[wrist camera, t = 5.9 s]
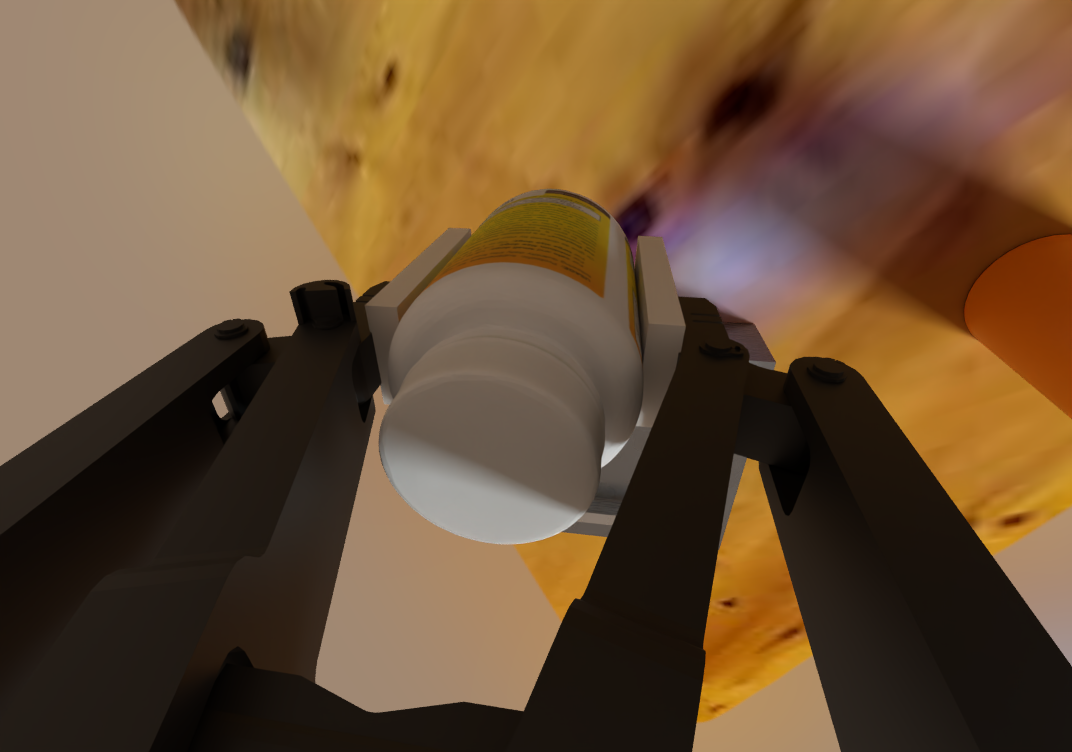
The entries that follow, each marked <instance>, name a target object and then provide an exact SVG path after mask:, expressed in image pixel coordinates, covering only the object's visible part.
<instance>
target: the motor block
mask: <svg viewBox="0 0 1072 752" xmlns="http://www.w3.org/2000/svg"><path fill="white" fill-rule="evenodd" d="M722 324H724V327H725V329H726V332H727V334H728V336H729V339H731V340H734V341H736V342H738V343H740V344H742V345H743V346H744V347H745V348H746V349H748V351H749V355H750V358H749V363H752V364H754V365H757V366H759V367H763V368H766V369H770V370H774V367H775V364H776V362H775V360H774V358H773V356H772V355H771V353H770V351H769V349H768V347H767V346H766V344H765V342H764V340H763V339H762V337H761V335H760V333H759V331H758V330H757V328H756V326H755V324H741V323H724V322H722ZM651 428H652V427H641V426H635V428H634V431H633V432H632V434H631V436H630V438H629V439H628V441H627V442H626V444H625V445H624V447H623V448H622V449H621V450H620V451H619V453H618V454H617V455H616V456H615V457H614V458H613V459H612V460H611V461H610V462H609V463H607V464H606V465H605V466H603V467H602V468H601V475H600V482H599V486H598V489H597V492H596V495H595V497H594V500H593V501H592V503H591V505H590V507H589V508H588V509H587V511H586V512H585V514H584V515H583V516H582V517H580V518H579V519H578V520H577V521H576V522H575V523H574V524H573V525H571V526H570V527H568V528H567V529H566V530H564V531H562V532H567V533H576V534H585V535H594V536H603V537H608V534H609V532H610V529H611V527H612V524H613V522H614V520H615V517H616V515H617V512H618V510H619V507H620V505H621V502H622V500H623V497H624V495H625V492H626V490H627V488H628V485H629V483H630V480H631V478H632V475H633V473H634V470H635V468H636V465H637V463H638V460H639V458H640V456H641V453H642V451H643V448H644V446H645V443H646V441H647V438H648V436H649V433H650V431H651ZM746 459H747V457H743V456H740V455H737V454H734V456H733V462H732V468H731V474H730V480H729V487H728V493H727V499H726V505H725V511H724V517H723V523H722V530H721V536H720V542H719V548H720V545H721V541H722V538H723V535H724V532H725V528H726V525H727V522H728V518H729V515H730V512H731V509H732V505H733V502H734V499H735V495H736V492H737V489H738V485H739V482H740V479H741V476H742V472H743V469H744V466H745V462H746ZM719 548H718V549H719Z"/></svg>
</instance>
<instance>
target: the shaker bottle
mask: <svg viewBox="0 0 1072 752" xmlns="http://www.w3.org/2000/svg"><path fill="white" fill-rule="evenodd" d="M964 317H965V323H966V325H967V327H968V329H969V331H970V333H971V334H972V335H973V336H974V337H975V338H976V339H977V340H978V341H980V342H981V343H982V344H983V345H984V346H986V347H987V348H988V349H989V350H990V351H992V352H993V353H994V354H995V355H996V356H997V357H999V358H1000V359H1001V360H1002V361H1003V362H1005V363H1006V364H1007V365H1008V366H1009V367H1011V368H1012V369H1013V370H1014V371H1015V372H1016V373H1018V374H1019V375H1020V376H1021V377H1022V378H1024V379H1025V380H1026V381H1027V382H1028V383H1030V384H1031V385H1032V386H1033V387H1034V388H1036V389H1037V390H1038V391H1039V392H1040V393H1041V394H1043V395H1044V396H1045V397H1046V398H1047V399H1049V400H1050V401H1051V402H1052V403H1053V404H1055V405H1056V406H1057V407H1058V408H1059V409H1060V410H1062V411H1063V412H1064V413H1065V414H1066V415H1068V416H1069V417H1070V418H1071V419H1072V235H1071V234H1066V235H1053V236H1048V237H1044V238H1040V239H1036V240H1033V241H1031V242H1028V243H1025V244H1023V245H1021V246H1019V247H1017V248H1015V249H1013V250H1011V251H1009V252H1007V253H1006V254H1005V255H1003V256H1002V257H1000V258H999V259H997V260H996V261H995V262H994V263H992V264H991V265H990V266H989V267H988V268H987V269H986V270H985V271H984V272H983V273H982V274H981V275H980V277H979V278H978V279H977V280H976V281H975V283H974V285H973V286H972V288H971V290H970V292H969V294H968V296H967V299H966V302H965V308H964Z"/></svg>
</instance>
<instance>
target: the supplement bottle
mask: <svg viewBox="0 0 1072 752" xmlns="http://www.w3.org/2000/svg"><path fill="white" fill-rule="evenodd" d="M388 382H389V387H390V392H391V395H392V398H393V401H392V402H391V404H390V405H389V407H388V409H387V411H386V413H385V415H384V418H383V420H382V424H381V427H380V433H379V452H380V457H381V462H382V465H383V468H384V470H385V472H386V475H387V476H388V478H389V480H390V482H391V484H392V486H393V487H394V488H395V490H396V491H397V492H398V494H399V495H400V496H401V497H402V498H403V499H404V500H405V502H406V503H407V504H409V506H410V507H412V508H413V509H414V510H415V511H416V512H418V513H419V514H420V515H422V516H423V517H424V518H425V519H427V520H429V521H430V522H432V523H433V524H435V525H436V526H439V527H441V528H443V529H445V530H447V531H449V532H451V533H453V534H456V535H459V536H462V537H465V538H469V539H472V540H477V541H481V542H486V543H494V544H522V543H528V542H534V541H538V540H542V539H545V538H548V537H551V536H554V535H556V534H558V533H560V532H562V531H564V530H566V529H567V528H568V527H570V526H571V525H573V524H574V523H575V522H576V521H577V520H578V519H579V518H580V517H582V516H583V515H584V514H585V512H586V511H587V509H588V508H589V507H590V505H591V503H592V501H593V500H594V497H595V495H596V492H597V489H598V486H599V482H600V475H601V468H602V467H603V466H605V465H606V464H607V463H609V462H610V461H611V460H612V459H613V458H614V457H615V456H616V455H617V454H618V453H619V451H620V450H621V449H622V448H623V447H624V445H625V444H626V442H627V441H628V439H629V438H630V436H631V434H632V432H633V431H634V428H635V426H636V424H637V421H638V418H639V415H640V411H641V407H642V400H643V383H644V380H643V364H642V350H641V339H640V326H639V313H638V301H637V288H636V279H635V269H634V262H633V256H632V252H631V248H630V245H629V243H628V240H627V238H626V236H625V234H624V232H623V230H622V229H621V227H620V225H619V224H618V223H617V221H616V220H615V219H614V218H613V217H612V216H611V215H610V214H609V213H608V212H607V211H606V210H605V209H604V208H602V207H601V206H600V205H599V204H597V203H595V202H594V201H592V200H591V199H589V198H587V197H585V196H582V195H580V194H577V193H573V192H570V191H566V190H560V189H541V190H535V191H530V192H526V193H523V194H521V195H518V196H516V197H514V198H512V199H510V200H508V201H507V202H505V203H503V204H502V205H501V206H500V207H498V208H497V209H496V210H495V211H494V212H492V213H491V214H490V215H489V217H488V218H487V219H486V220H485V221H484V222H483V223H482V224H481V225H480V227H479V228H478V229H477V230H476V231H475V232H474V233H473V234H472V236H471V237H470V238H469V239H468V240H467V241H466V242H465V244H464V245H463V246H462V247H461V248H460V249H459V250H458V251H457V253H456V254H455V255H454V256H453V257H452V258H451V260H450V261H449V262H448V263H447V264H446V265H445V266H444V268H443V269H442V270H441V271H440V272H439V273H438V274H437V276H436V277H435V278H434V279H433V280H432V281H431V282H430V283H429V285H428V286H427V287H426V288H425V289H424V290H423V291H422V293H421V294H420V295H419V296H418V297H417V298H416V299H415V300H414V302H413V303H412V304H411V306H410V307H409V308H408V310H407V311H406V313H405V314H404V316H403V317H402V319H401V320H400V322H399V324H398V327H397V329H396V331H395V333H394V336H393V339H392V342H391V346H390V351H389V358H388Z"/></svg>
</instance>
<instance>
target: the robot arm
mask: <svg viewBox="0 0 1072 752" xmlns="http://www.w3.org/2000/svg"><path fill="white" fill-rule="evenodd" d="M470 237H471V229H463V228H448V229H447V230H446V231H445V232H444V233H443V234H442V235H441V236H440V237H439V238H438V239H436V240H435V241H434V242H433V243H432V244H431V245H430V246H429V247H428V248H427V249H426V250H424V251H423V252H422V253H421V254H420V255H419V256H418V257H417V258H416V259H415V260H414V261H412V262H411V263H410V264H409V265H408V266H407V267H406V268H405V269H404V270H403V271H402V272H400V273H399V274H398V275H397V276H396V277H395V278H394V279H393V280H392V281H391V282H388V281H385V282H382V283H380V284H378V285H375V286H373V287H371V288H370V289H368V290H367V291H366V292H365V293H364V294H363V296H360V297H359V298H358V299H357V300H356V302H353V300H352V295H351V290H350V285H349V284H347V283H346V282H343V281H338V280H321V281H314V282H309V283H305V284H302V285H300V286H297V287H295V288H294V289H292V290H291V291H290V295H291V299H292V302H293V306H294V310H295V313H296V316H297V320H298V324H299V325H298V327H297V329H296V330H295V332H294V333H293V335H292V336H285V337H273V338H267V335H266V332H265V328H264V325H263V323H261V322H259V321H257V320H250V319H244V320H241V319H233V320H227V321H224V322H222V323H221V324H218V325H215V326H212V327H210V328H209V329H207V330H205V331H203V332H202V333H200V334H199V335H197V336H196V337H194V338H193V339H191V340H190V341H188V342H187V343H185V344H184V345H182V346H181V347H179V348H178V349H176V350H175V351H173V352H172V353H170V354H169V355H167V356H166V357H164V358H163V359H161V360H160V361H158V362H157V363H155V364H154V365H152V366H151V367H149V368H147V369H146V370H145V371H143V372H141V373H140V374H138V375H137V376H135V377H134V378H133V379H131V380H129V381H128V382H126V383H125V384H123V385H122V386H120V387H119V388H117V389H116V390H115V391H113V392H111V393H110V394H108V395H107V396H105V397H104V398H102V399H101V400H99V401H98V402H96V403H95V404H93V405H92V406H90V407H89V408H87V409H86V410H84V411H83V412H81V413H80V414H78V415H77V416H75V417H74V418H72V419H71V420H69V421H68V422H66V423H65V424H63V425H62V426H60V427H59V428H57V429H56V430H54V431H53V432H51V433H50V434H48V435H47V436H45V437H44V438H42V439H41V440H39V441H38V442H36V443H35V444H33V445H32V446H30V447H29V448H27V449H26V450H24V451H22V452H21V453H20V454H18V455H16V456H15V457H14V458H12V459H11V460H9V461H8V462H6V463H4V464H3V465H1V466H0V752H692V748H693V742H694V735H695V728H696V722H697V716H698V709H699V703H700V696H701V689H702V683H703V675H704V668H705V654H706V651H705V650H703V641H704V634H705V628H706V622H707V616H708V609H709V603H710V597H711V591H712V585H713V579H714V573H715V566H716V560H717V554H718V548H719V542H720V536H721V530H722V523H723V517H724V511H725V505H726V499H727V493H728V487H729V480H730V474H731V468H732V462H733V456H734V454H737V455H740V456H743V457H747V458H750V459H753V460H756V461H759V471H760V474H761V478H762V481H763V484H764V488H765V491H766V495H767V498H768V502H769V505H770V509H771V512H772V515H773V519H774V522H775V526H776V529H777V533H778V536H779V540H780V543H781V546H782V550H783V553H784V557H785V560H786V564H787V567H788V571H789V574H790V577H791V581H792V584H793V588H794V591H795V595H796V598H797V602H798V605H799V608H800V612H801V615H802V619H803V622H804V626H805V629H806V633H807V636H808V639H809V643H810V646H811V650H812V653H813V657H814V660H815V663H816V667H817V670H818V674H819V677H820V680H821V684H822V688H823V691H824V694H825V698H826V701H827V705H828V708H829V711H830V715H831V719H832V722H833V725H834V728H835V732H836V735H837V739H838V743H839V746H840V750H841V752H1072V666H1071V665H1070V663H1069V662H1068V661H1067V659H1066V658H1065V656H1064V655H1063V653H1062V652H1061V651H1060V649H1059V648H1058V647H1057V645H1056V644H1055V642H1054V641H1053V640H1052V638H1051V637H1050V635H1049V634H1048V633H1047V631H1046V630H1045V629H1044V627H1043V626H1042V625H1041V623H1040V622H1039V620H1038V619H1037V618H1036V616H1035V615H1034V613H1033V612H1032V611H1031V609H1030V608H1029V606H1028V605H1027V604H1026V603H1025V601H1024V599H1023V598H1022V597H1021V595H1020V594H1019V592H1018V591H1017V590H1016V588H1015V587H1014V586H1013V584H1012V583H1011V581H1010V580H1009V579H1008V577H1007V576H1006V575H1005V573H1004V572H1003V570H1002V569H1001V567H1000V566H999V565H998V564H997V562H996V561H995V559H994V558H993V556H992V555H991V554H990V552H989V551H988V549H987V548H986V547H985V545H984V544H983V543H982V541H981V540H980V538H979V537H978V536H977V534H976V533H975V531H974V530H973V529H972V527H971V526H970V524H969V523H968V522H967V520H966V519H965V518H964V516H963V515H962V513H961V512H960V511H959V509H958V508H957V506H956V505H955V504H954V502H953V501H952V500H951V498H950V497H949V495H948V494H947V493H946V491H945V490H944V488H943V487H942V486H941V484H940V483H939V481H938V480H937V479H936V477H935V476H934V475H933V473H932V472H931V470H930V469H929V468H928V466H927V465H926V463H925V462H924V461H923V459H922V458H921V457H920V455H919V454H918V452H917V451H916V450H915V448H914V447H913V445H912V444H911V443H910V441H909V440H908V438H907V437H906V436H905V434H904V433H903V432H902V430H901V429H900V427H899V426H898V425H897V423H896V422H895V420H894V419H893V418H892V416H891V415H890V414H889V412H888V411H887V409H886V408H885V407H884V405H883V404H882V402H881V401H880V400H879V398H878V397H877V395H876V394H875V393H874V391H873V390H872V389H871V387H870V386H869V384H868V383H867V382H866V380H865V379H864V377H863V376H862V375H861V374H860V373H858V372H857V371H856V370H855V369H853V368H851V367H849V366H847V365H846V364H844V363H843V362H841V361H838V360H836V361H834V360H835V359H831V358H820V357H802V358H798V359H795V360H794V361H793V362H792V363H791V364H790V367H789V370H788V373H783V372H779V371H775V370H770V369H766V368H763V367H759V366H757V365H754V364H752V363H749V358H750V355H749V351H748V349H746V348H745V347H744V346H743V345H742V344H740V343H738V342H736V341H734V340H731V339H729V336H728V334H727V332H726V329H725V327H724V324H722V320H721V317H719V316H720V315H719V312H718V310H717V308H716V306H715V305H713V304H712V303H711V302H709V301H708V300H707V299H705V298H691V297H678V295H677V291H676V288H675V284H674V280H673V276H672V273H671V269H670V265H669V261H668V257H667V254H666V250H665V246H664V242H663V239H662V237H649V236H638V243H637V252H636V261H635V279H636V288H637V301H638V313H639V326H640V339H641V350H642V364H643V380H644V383H643V400H642V407H641V411H640V415H639V418H638V421H637V424H636V426H641V427H652V428H651V431H650V433H649V436H648V438H647V441H646V443H645V446H644V448H643V451H642V453H641V456H640V458H639V460H638V463H637V465H636V468H635V470H634V473H633V475H632V478H631V480H630V483H629V485H628V488H627V490H626V492H625V495H624V497H623V500H622V502H621V505H620V507H619V510H618V512H617V515H616V517H615V520H614V522H613V524H612V527H611V529H610V532H609V534H608V537H607V539H606V542H605V544H604V547H603V549H602V552H601V554H600V556H599V559H598V561H597V564H596V566H595V569H594V571H593V574H592V576H591V579H590V581H589V584H588V586H587V588H586V590H585V593H584V595H583V596H582V598H581V599H576V598H575V599H574V601H573V602H572V603H571V605H570V606H569V608H568V610H567V612H566V615H565V617H564V619H563V621H562V623H561V625H560V628H559V630H558V633H557V635H556V637H555V639H554V642H553V644H552V646H551V649H550V651H549V653H548V656H547V658H546V661H545V663H544V665H543V667H542V670H541V672H540V675H539V677H538V679H537V682H536V684H535V686H534V689H533V691H532V694H531V696H530V698H529V700H528V703H527V705H526V707H525V710H524V711H518V710H512V709H505V708H499V707H493V706H486V705H481V704H474V703H468V702H458V703H451V704H443V705H435V706H427V707H419V708H413V709H405V710H396V711H388V712H380V713H373V712H368V711H365V710H363V709H361V708H359V707H357V706H355V705H354V704H352V703H350V702H348V701H346V700H344V699H342V698H341V697H339V696H337V695H335V694H334V693H332V692H330V691H328V690H326V689H324V688H322V687H321V686H319V685H317V684H315V674H316V665H317V659H318V655H319V651H320V647H321V642H322V638H323V633H324V629H325V625H326V621H327V616H328V612H329V608H330V604H331V599H332V595H333V591H334V587H335V582H336V578H337V574H338V569H339V565H340V561H341V557H342V552H343V548H344V544H345V539H346V535H347V531H348V527H349V522H350V518H351V513H352V509H353V505H354V501H355V497H356V492H357V488H358V484H359V479H360V475H361V471H362V466H363V462H364V458H365V453H366V449H367V445H368V441H369V436H370V432H371V428H372V424H373V420H374V415H375V404H374V399H373V394H374V392H375V391H376V390H377V388H378V387H379V386H380V385H381V390H382V395H383V400H384V404H391V402H392V401H393V398H392V395H391V392H390V387H389V382H388V358H389V351H390V346H391V342H392V339H393V336H394V333H395V331H396V329H397V327H398V324H399V322H400V320H401V319H402V317H403V316H404V314H405V313H406V311H407V310H408V308H409V307H410V306H411V304H412V303H413V302H414V300H415V299H416V298H417V297H418V296H419V295H420V294H421V293H422V291H423V290H424V289H425V288H426V287H427V286H428V285H429V283H430V282H431V281H432V280H433V279H434V278H435V277H436V276H437V274H438V273H439V272H440V271H441V270H442V269H443V268H444V266H445V265H446V264H447V263H448V262H449V261H450V260H451V258H452V257H453V256H454V255H455V254H456V253H457V251H458V250H459V249H460V248H461V247H462V246H463V245H464V244H465V242H466V241H467V240H468V239H469V238H470ZM219 391H220V392H221V394H222V397H223V399H224V402H225V404H226V407H227V409H228V411H229V412H228V413H227V414H226V415H225V416H224V417H222V418H220V417H219V416H218V414H217V412H216V410H215V407H214V405H213V403H212V400H213V398H214V397H215V395H216V394H217V393H218V392H219Z"/></svg>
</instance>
